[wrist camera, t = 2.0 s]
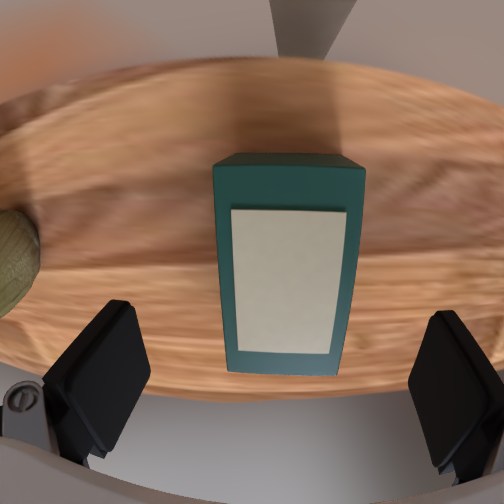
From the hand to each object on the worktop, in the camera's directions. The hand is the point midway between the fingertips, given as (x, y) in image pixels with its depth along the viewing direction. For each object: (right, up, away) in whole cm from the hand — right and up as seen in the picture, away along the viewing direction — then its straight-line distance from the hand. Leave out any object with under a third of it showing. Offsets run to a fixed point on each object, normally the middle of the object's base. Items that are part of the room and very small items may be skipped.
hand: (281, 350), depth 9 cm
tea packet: (+1, +3, +6) cm, 7 cm away
